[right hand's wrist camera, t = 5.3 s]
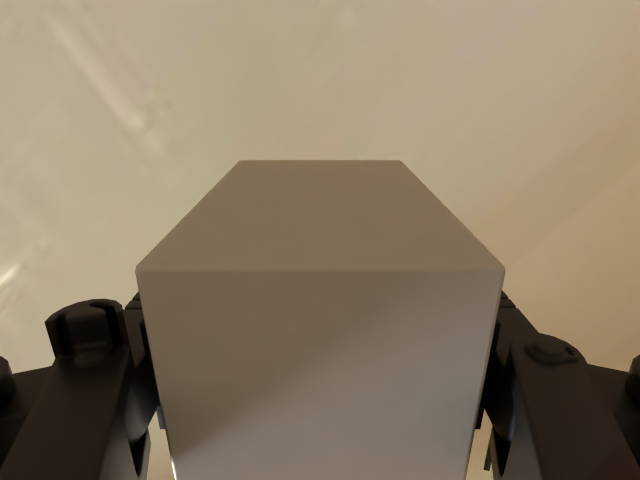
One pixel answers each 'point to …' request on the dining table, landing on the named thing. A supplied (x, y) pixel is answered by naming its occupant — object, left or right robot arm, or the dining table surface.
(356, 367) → the bar
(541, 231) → the dining table surface
